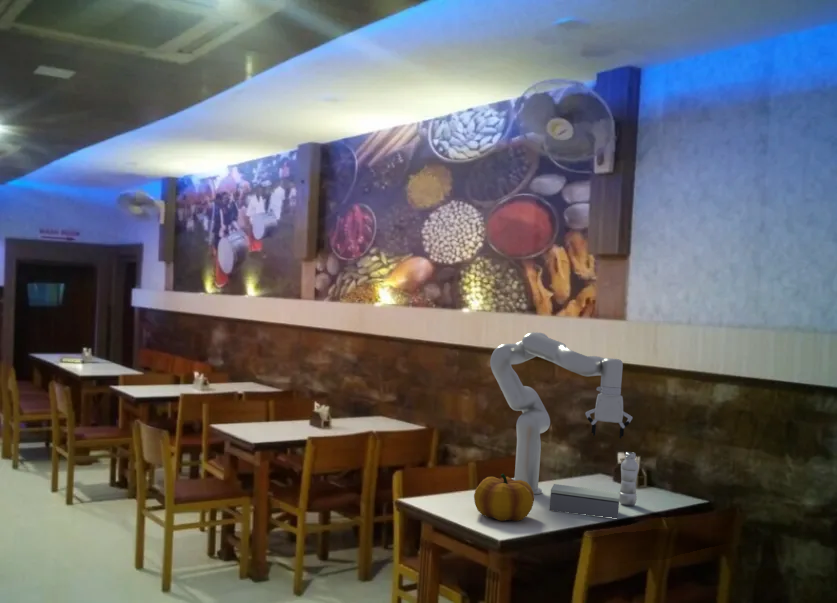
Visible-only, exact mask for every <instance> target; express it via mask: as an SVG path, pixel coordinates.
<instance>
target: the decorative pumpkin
mask: <svg viewBox="0 0 837 603" xmlns="http://www.w3.org/2000/svg"><path fill="white" fill-rule="evenodd" d="M473 498H474V499H473V500H474V501H473V502H474V504H475V507H476V509H477V512H479V514H480V515H482V516H484V517H487V518H491V519H492V518H493V519H495V520H496V521H497V520H498V521H499V522H505V521H515V522H517V521H522V520H524V519H525V518H526V517H527V516H528V515H529V514H530V512H531V511H532V509H533V506H534V503H535V495H534V493H533V490H532V488H531V486H530V485H529V484H528V483H527V482H525V481H522V480H516V481H515V480H513V479H512V477H509V476H506V475H505V474H504V473H501V474H500V478H499V477H498V478H497V477H496V476H487V477H485V478H483V479H482V481H480V483H479V484H478V486H477V487H476V488H475V491H474V494H473Z"/></svg>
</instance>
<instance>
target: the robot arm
mask: <svg viewBox="0 0 837 603" xmlns="http://www.w3.org/2000/svg"><path fill="white" fill-rule="evenodd" d="M536 357H538V358H541V359H542V360H546V361H548V362H551V363H553V364H555V365H557V366H559V367H561V368H563V369H565V370H567V371H569V372H572V373H575V374H577V375H580V376H582V377H583V376H584V377H595V376H600V386H596V391H598V392H599V393H598V394H597V397H596V400H595V408H592V409H590V410H587V411H586V412H584V413H585V416H586V418H587V420H588V422H589V423H590V424H591V434H592V435H593V436H594V437H595V436H596V432H597V431H596V430H597V424H596V423H597V422H604V423H605V422H606V423H613V424H617V423H618V424H619V426H620V428H619V435H618V436H619V439H620V440H621V439H622V437H624V436H625V435H624V433H625V428H626V427H627V426H629V425H630V423H631V421H632V420H633V416H631V414H628V413H627V412H625V411H624V398H623V395H621V394H622V393H621V392H622V379H623V368H624V366H623V364H624V363H623V361H622V360H621V359H617V358H609V357H608V358H607V357H601V356H597V355H592V356H591V355H590V356H588V355H584V354H582V353H579V352H577V351H574V350H572V349H570V348H569V347H567V345H566V344H565V343H563V342H561V341H559V340H556V339H552V338H550V337H548V335H547V334H545V333H542V332H534V331H533V332H528V333H527V334H525V335H524V336H523V337H522V340H520V341H518V342H516V343H503V344H500V345H498V346H497V347H496V348H495V349H494V350H493V352H492V354H491V356H490V368H491V372H492V374H493V376H494V378H495V379H496V381H497V384H498V386H499V389H500V391H502V394H503V397H504V398H505V400H506V402H507V405H508V406H509V408H511V409H512V410H513V411H516V412H518V411H519V412H520V411H521V412H522V413H521V415H519V416H518V418H517V420H516V425H515V427H516V428H515V429H516V430H515V431H516V449H515V450H516V453H515V465H514V467H515V469H514V477H511V479H513V480H515V481H516V480H522V481H525V482H527V483H528V484H529V485H530V486H531V488H532V490H533V493H534V496H535V495H540V494H542V491H543V490H542V488H540V487H539V476H540V464H541V452H542V450H541V449H542V441H541V434H543V433H545V432H546V431H548V429H549V428H550V425H551V418H550V415H549V413H548V411H547V408H546V407H545V405H544V404H543V402H542V400H541V398H540V396H539V394H538V393H537V391H536V390H535V389H534V388H533V387H531V386H527V385H523V383H522V381H521V380H520V377H519V375H518V373H517V372H516V371H515V370H514V369H513V366H512V365H519V364H523V363H525V362H527V361H529V360H531V359H534V358H536ZM591 414H594V419H593V418H592V417H591ZM624 417H625V418H627V420H626V421H625V422H624V421H623V418H624Z"/></svg>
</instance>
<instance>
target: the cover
mask: <svg viewBox="0 0 837 603" xmlns="http://www.w3.org/2000/svg"><path fill="white" fill-rule="evenodd" d="M551 493H558V494H565V495H573V496H580V497H588V498H595V499H603V500H610V501H617V502H619V496H620V491H619V492H617V491H609V490H603V489H595V488H588V487H579V486H571V485H565V484H557V483H553V485H552V487H551V489H550V494H551ZM619 503H620V502H619Z"/></svg>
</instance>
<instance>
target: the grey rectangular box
mask: <svg viewBox="0 0 837 603" xmlns="http://www.w3.org/2000/svg"><path fill="white" fill-rule="evenodd" d="M549 496H550V497H549V498H550V499H549V511H551V510H554V511H553V512H558V511H561V513H565V512H569V513H568V514H572V513H578V514H577V515H580V514H586V515H585V516H587V515H595V516H603V517H612V518H617V519H618V518H619V510H620V509H619V507H620V502H617V501H610V500H603V499H595V498H588V497H580V496H573V495H565V494H558V493H551V492H550V495H549ZM618 520H619V519H618Z"/></svg>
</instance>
